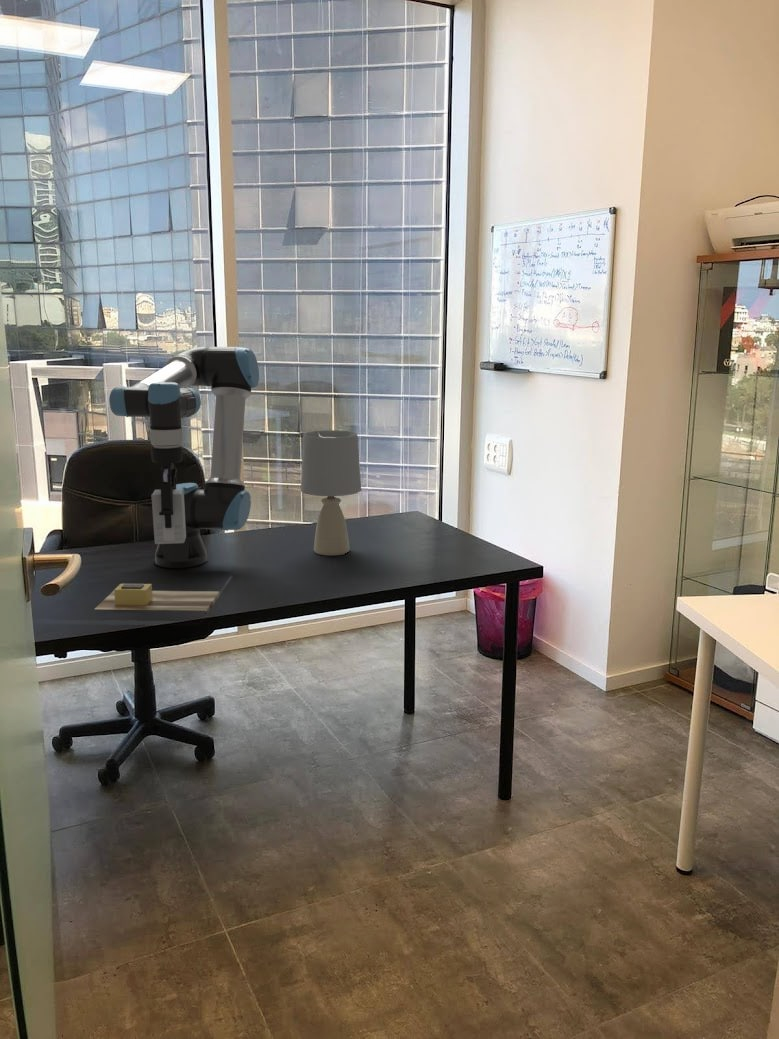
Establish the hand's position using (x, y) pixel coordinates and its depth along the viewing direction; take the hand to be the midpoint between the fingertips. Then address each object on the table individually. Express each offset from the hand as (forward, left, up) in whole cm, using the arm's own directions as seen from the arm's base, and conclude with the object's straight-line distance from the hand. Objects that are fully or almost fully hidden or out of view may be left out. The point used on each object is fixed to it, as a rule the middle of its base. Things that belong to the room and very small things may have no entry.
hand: (170, 536), depth 217 cm
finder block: (+2, -10, -17) cm, 20 cm away
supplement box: (0, 0, -1) cm, 1 cm away
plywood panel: (+1, -4, -18) cm, 18 cm away
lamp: (-51, +36, -18) cm, 65 cm away
